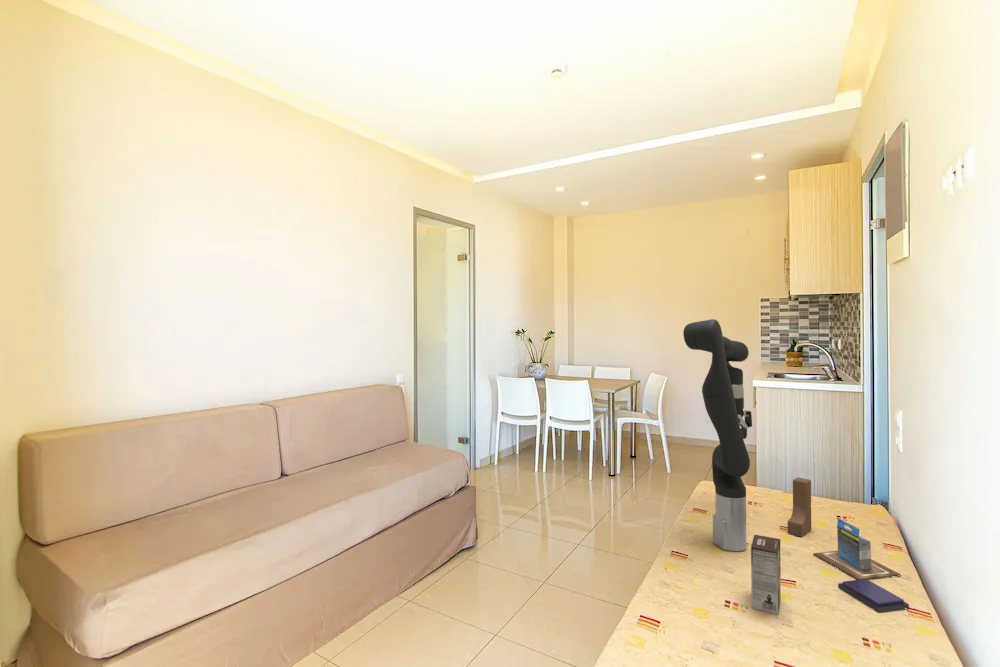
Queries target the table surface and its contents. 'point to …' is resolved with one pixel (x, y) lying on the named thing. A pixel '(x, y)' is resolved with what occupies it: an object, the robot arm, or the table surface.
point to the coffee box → (765, 574)
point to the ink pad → (873, 595)
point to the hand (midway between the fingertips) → (732, 439)
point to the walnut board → (874, 573)
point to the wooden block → (800, 508)
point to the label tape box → (853, 546)
